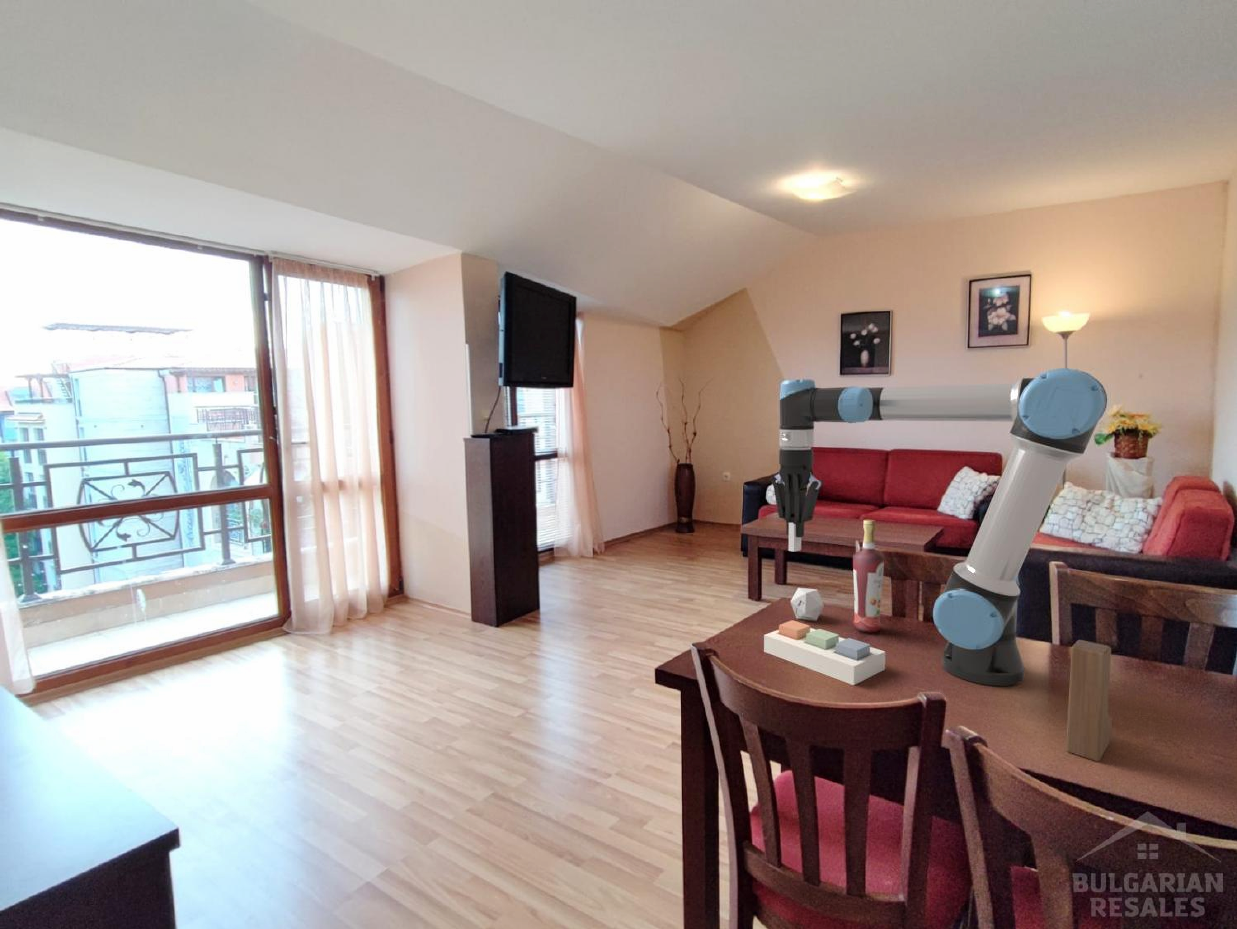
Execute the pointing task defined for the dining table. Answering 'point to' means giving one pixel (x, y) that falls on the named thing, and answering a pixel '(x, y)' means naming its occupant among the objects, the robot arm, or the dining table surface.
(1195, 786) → the dining table surface
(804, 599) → the die
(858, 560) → the liquor
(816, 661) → the control panel
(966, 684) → the dining table surface
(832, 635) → the sage button
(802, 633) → the terracotta button
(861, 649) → the slate button
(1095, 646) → the wooden block
